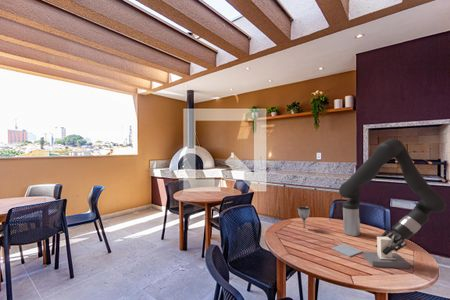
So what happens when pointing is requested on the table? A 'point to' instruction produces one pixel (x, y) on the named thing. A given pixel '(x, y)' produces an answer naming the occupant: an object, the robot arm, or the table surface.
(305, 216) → the wine glass
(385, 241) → the tall cream pillar
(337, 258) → the table surface
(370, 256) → the gray slotted base
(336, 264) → the table surface
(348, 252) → the mat
